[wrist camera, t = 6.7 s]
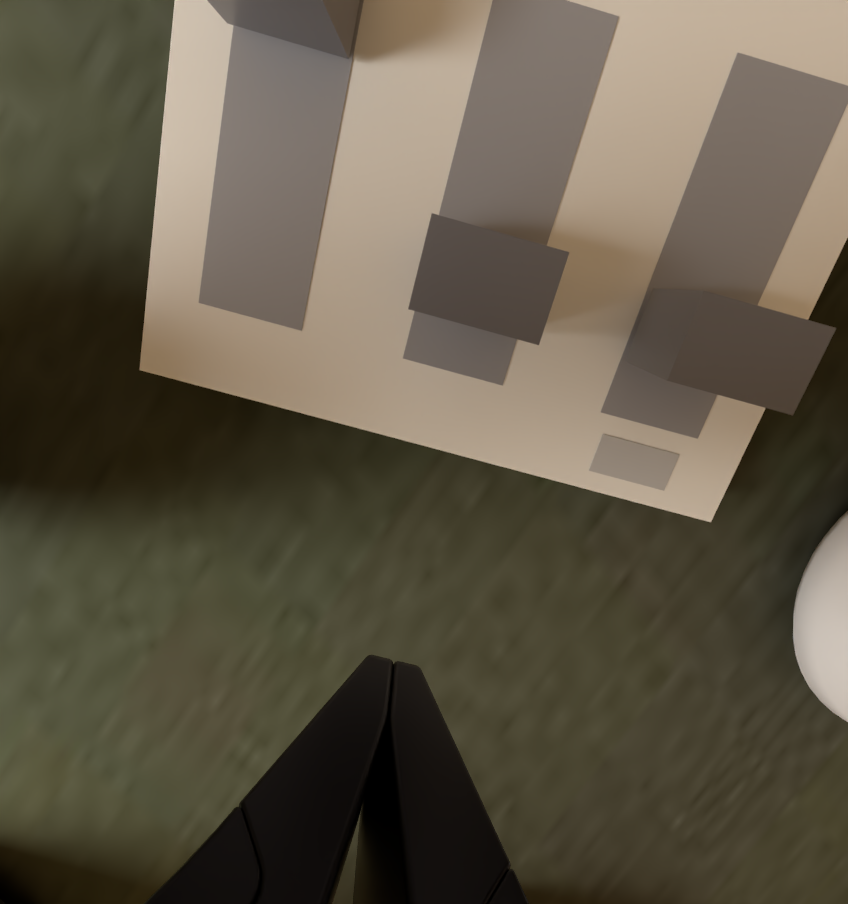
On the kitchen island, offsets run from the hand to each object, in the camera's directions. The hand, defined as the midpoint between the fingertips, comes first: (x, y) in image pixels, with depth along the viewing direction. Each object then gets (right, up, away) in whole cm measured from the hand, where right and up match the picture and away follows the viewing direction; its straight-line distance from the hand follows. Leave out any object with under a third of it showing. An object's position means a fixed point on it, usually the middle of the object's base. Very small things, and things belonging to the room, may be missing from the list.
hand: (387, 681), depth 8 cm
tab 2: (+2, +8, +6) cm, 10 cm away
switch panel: (+3, +11, +7) cm, 13 cm away
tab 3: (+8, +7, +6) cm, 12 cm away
